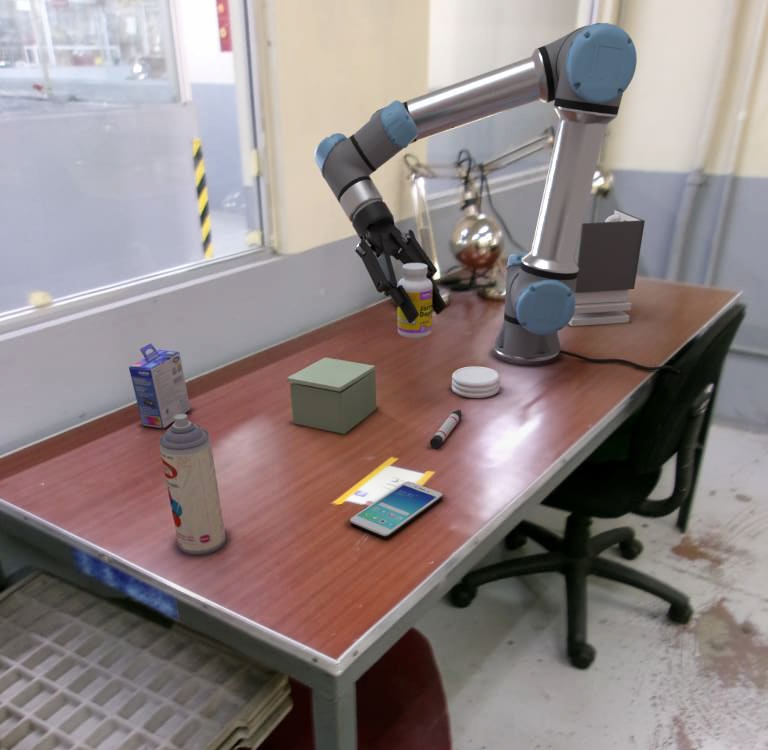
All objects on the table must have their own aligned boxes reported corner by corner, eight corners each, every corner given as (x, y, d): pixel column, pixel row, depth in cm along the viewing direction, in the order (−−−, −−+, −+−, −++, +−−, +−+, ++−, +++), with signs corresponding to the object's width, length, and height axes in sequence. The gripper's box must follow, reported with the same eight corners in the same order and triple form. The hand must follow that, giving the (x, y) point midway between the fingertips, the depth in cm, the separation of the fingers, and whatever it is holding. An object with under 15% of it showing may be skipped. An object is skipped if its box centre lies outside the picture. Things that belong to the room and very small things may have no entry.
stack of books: (628, 322, 194) (644, 220, 181) (558, 327, 191) (569, 224, 178) (604, 305, 207) (617, 209, 194) (538, 309, 205) (547, 213, 192)
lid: (339, 391, 134) (339, 387, 134) (287, 381, 139) (286, 377, 138) (375, 369, 145) (375, 365, 145) (325, 361, 149) (325, 357, 149)
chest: (344, 434, 140) (342, 393, 135) (293, 423, 144) (289, 383, 140) (376, 408, 149) (375, 369, 145) (327, 399, 154) (325, 361, 149)
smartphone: (347, 519, 112) (406, 480, 122) (347, 524, 112) (406, 484, 122) (386, 535, 108) (444, 493, 118) (386, 540, 109) (444, 498, 118)
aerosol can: (174, 535, 111) (150, 411, 100) (219, 525, 113) (200, 402, 103) (183, 559, 105) (158, 431, 95) (231, 548, 108) (212, 421, 97)
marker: (440, 449, 134) (440, 439, 133) (429, 447, 134) (429, 437, 133) (464, 415, 146) (465, 406, 145) (455, 414, 146) (455, 405, 145)
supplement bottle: (421, 341, 141) (421, 271, 134) (391, 335, 144) (390, 267, 137) (438, 331, 145) (439, 263, 139) (408, 326, 149) (408, 260, 142)
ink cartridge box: (168, 406, 152) (155, 337, 144) (191, 409, 150) (180, 339, 143) (139, 426, 144) (124, 353, 137) (164, 429, 143) (150, 356, 135)
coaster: (466, 377, 163) (467, 362, 161) (507, 387, 158) (508, 371, 156) (442, 392, 156) (443, 376, 154) (484, 403, 151) (485, 386, 149)
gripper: (395, 218, 150) (453, 314, 149) (319, 233, 139) (380, 337, 138) (414, 192, 144) (474, 292, 143) (336, 206, 133) (400, 315, 131)
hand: (428, 314), depth 140 cm, fingers closed on supplement bottle, 7 cm apart
